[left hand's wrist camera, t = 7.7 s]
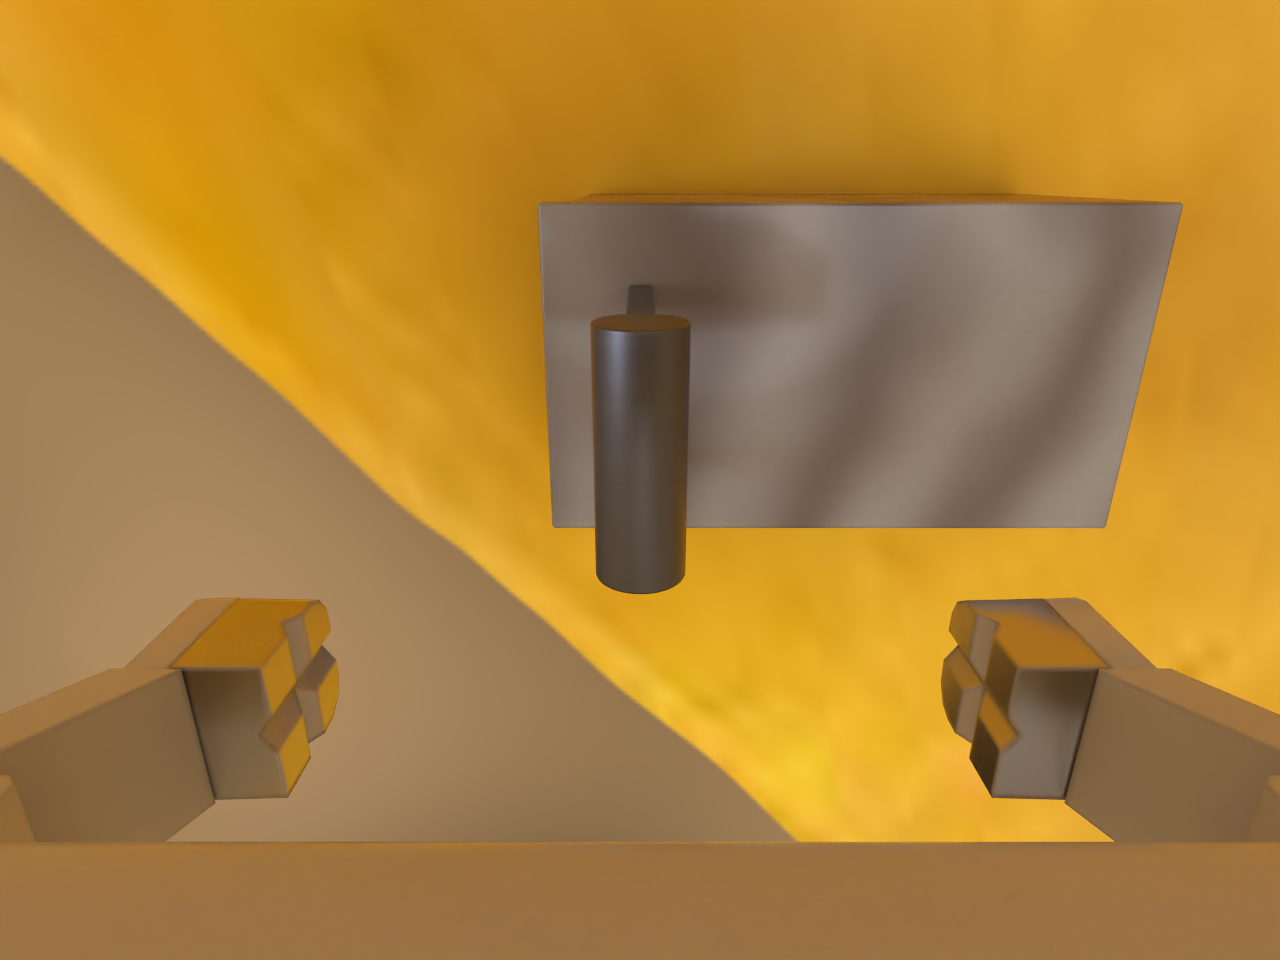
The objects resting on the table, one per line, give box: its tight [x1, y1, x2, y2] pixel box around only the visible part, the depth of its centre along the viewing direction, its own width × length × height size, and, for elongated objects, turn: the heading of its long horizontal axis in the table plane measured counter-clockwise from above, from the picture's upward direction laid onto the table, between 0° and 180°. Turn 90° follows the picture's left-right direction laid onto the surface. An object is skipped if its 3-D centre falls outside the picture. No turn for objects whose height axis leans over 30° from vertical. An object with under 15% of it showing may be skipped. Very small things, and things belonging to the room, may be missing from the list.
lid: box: [538, 202, 1183, 594], centre depth 20 cm, size 18×10×9 cm, turn 90°
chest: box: [572, 194, 1157, 202], centre depth 29 cm, size 17×10×10 cm, turn 90°
